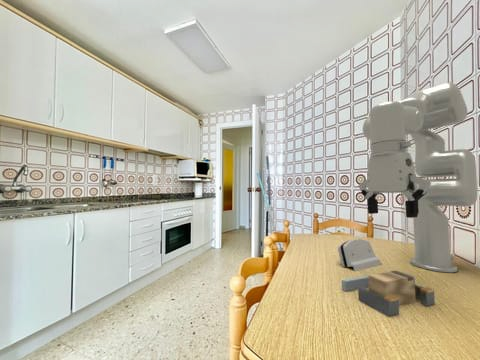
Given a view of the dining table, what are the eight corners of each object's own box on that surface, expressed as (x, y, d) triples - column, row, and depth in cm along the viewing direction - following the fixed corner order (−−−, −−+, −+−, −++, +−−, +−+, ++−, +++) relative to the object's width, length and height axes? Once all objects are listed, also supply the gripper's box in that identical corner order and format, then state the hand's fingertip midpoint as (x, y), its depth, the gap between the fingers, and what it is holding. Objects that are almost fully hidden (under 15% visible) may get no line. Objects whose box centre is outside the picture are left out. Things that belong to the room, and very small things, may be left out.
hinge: (355, 271, 69) (345, 240, 72) (342, 271, 72) (333, 242, 76) (382, 263, 77) (371, 236, 80) (370, 264, 80) (360, 238, 84)
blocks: (401, 290, 55) (400, 277, 55) (435, 304, 48) (434, 289, 48) (358, 300, 49) (358, 285, 50) (389, 317, 42) (389, 299, 43)
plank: (378, 282, 60) (378, 273, 60) (383, 284, 58) (382, 275, 59) (341, 289, 55) (341, 279, 55) (345, 291, 54) (345, 281, 54)
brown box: (397, 294, 53) (396, 270, 53) (416, 302, 49) (414, 276, 49) (369, 301, 49) (368, 274, 50) (386, 310, 45) (385, 281, 46)
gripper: (436, 144, 48) (441, 218, 47) (367, 156, 64) (369, 211, 63) (416, 141, 45) (420, 220, 44) (349, 155, 61) (351, 212, 60)
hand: (390, 215), depth 54 cm, fingers open, 9 cm apart
